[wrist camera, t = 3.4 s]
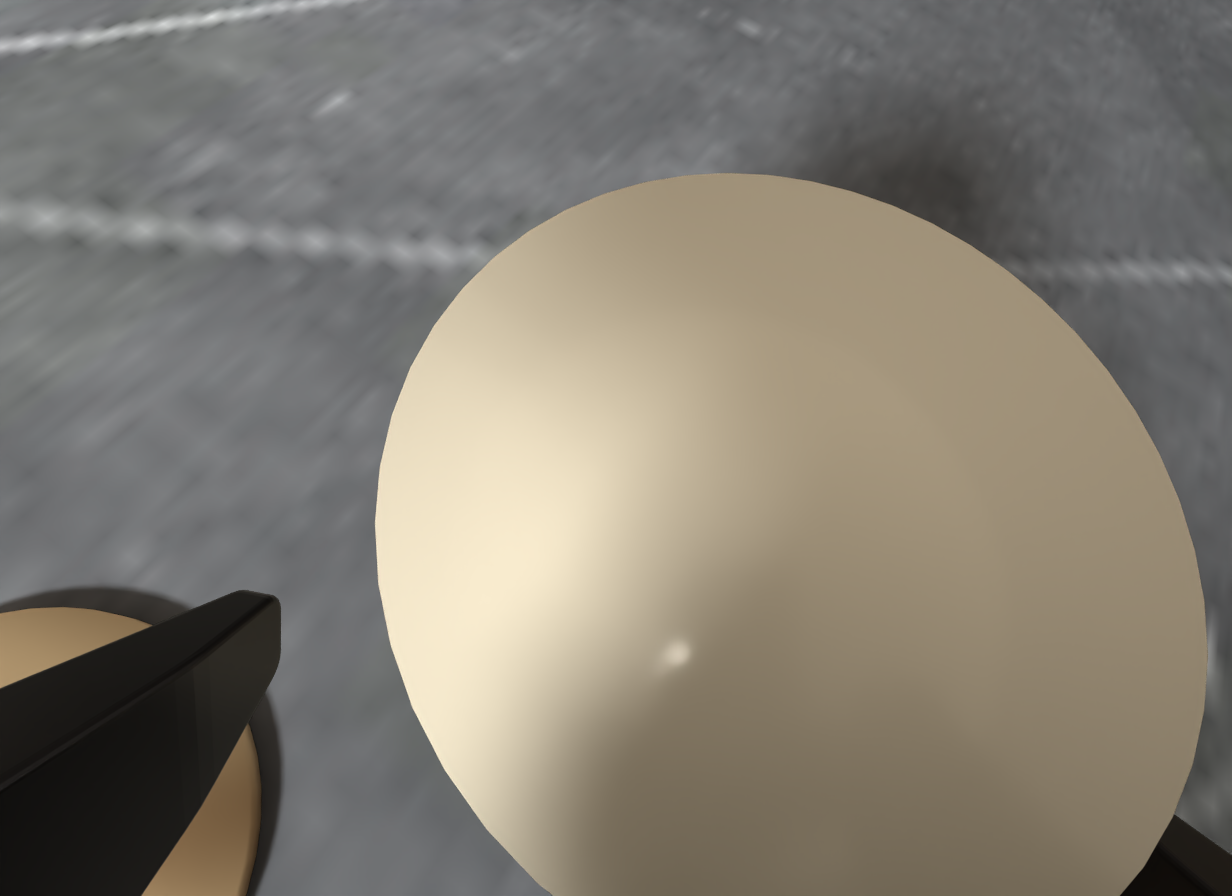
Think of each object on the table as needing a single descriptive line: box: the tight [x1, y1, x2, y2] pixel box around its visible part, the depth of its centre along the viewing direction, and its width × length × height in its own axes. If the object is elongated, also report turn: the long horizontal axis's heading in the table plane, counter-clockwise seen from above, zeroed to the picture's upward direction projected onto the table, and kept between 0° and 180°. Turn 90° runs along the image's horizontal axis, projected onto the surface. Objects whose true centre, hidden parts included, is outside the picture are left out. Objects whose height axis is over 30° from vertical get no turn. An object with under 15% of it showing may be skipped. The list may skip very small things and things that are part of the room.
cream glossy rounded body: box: [375, 173, 1208, 896], centre depth 10 cm, size 5×5×13 cm
